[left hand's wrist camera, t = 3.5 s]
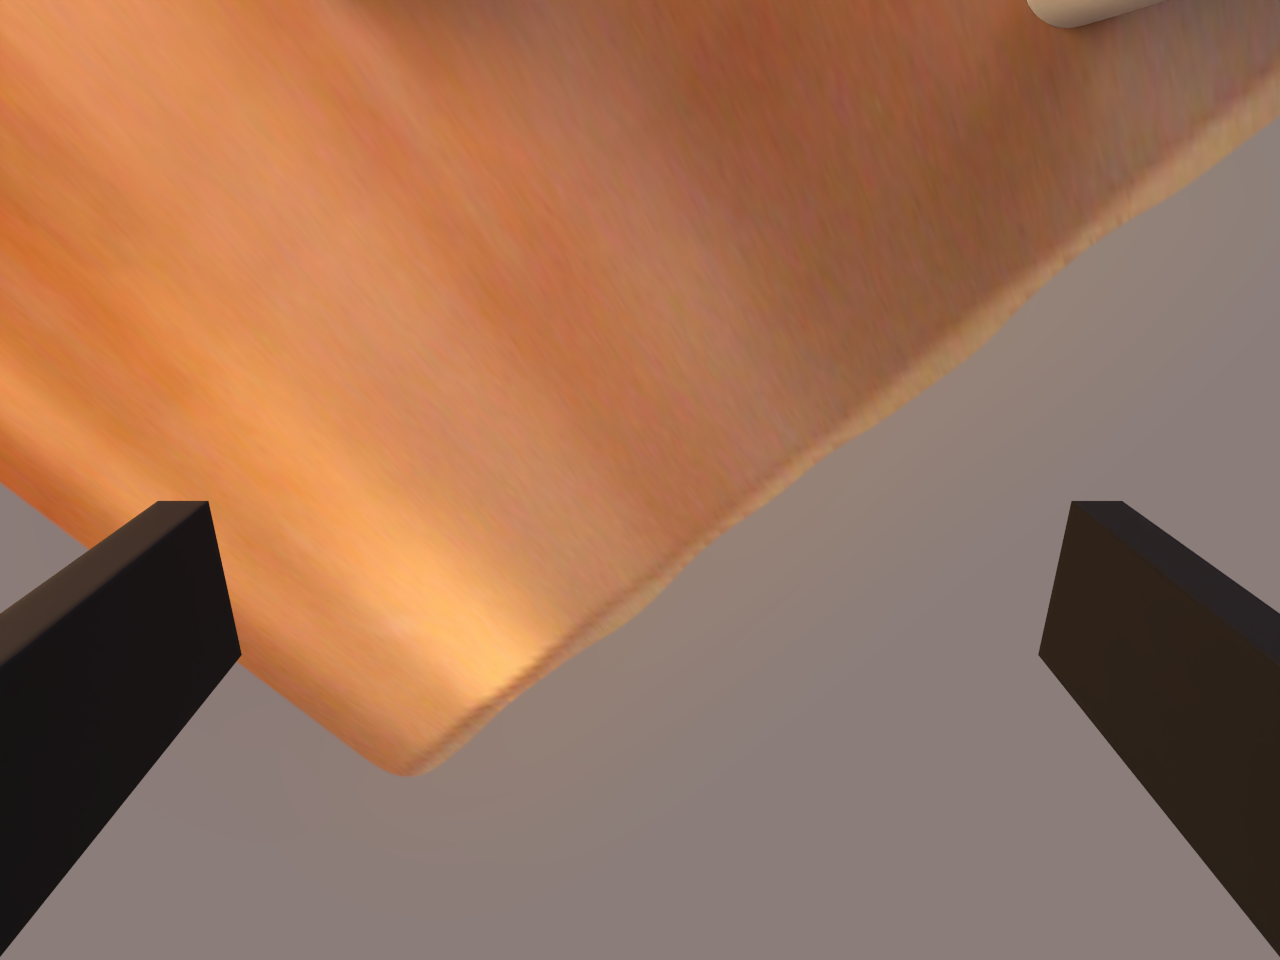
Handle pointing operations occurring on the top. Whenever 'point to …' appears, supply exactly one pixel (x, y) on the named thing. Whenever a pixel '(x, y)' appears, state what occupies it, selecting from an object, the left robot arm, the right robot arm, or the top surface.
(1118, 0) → the screw-top jar
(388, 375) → the top surface
